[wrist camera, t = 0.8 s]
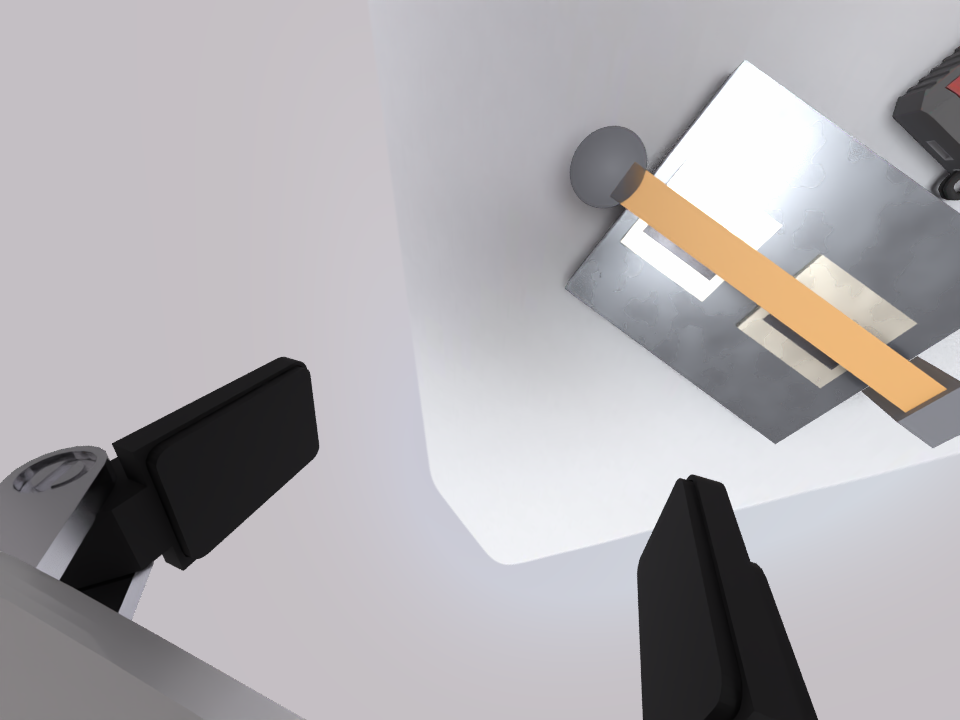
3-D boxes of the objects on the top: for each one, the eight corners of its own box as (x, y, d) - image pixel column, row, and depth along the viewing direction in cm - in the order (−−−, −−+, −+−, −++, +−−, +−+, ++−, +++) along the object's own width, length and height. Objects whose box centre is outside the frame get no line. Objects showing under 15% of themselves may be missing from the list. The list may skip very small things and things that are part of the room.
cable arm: (563, 181, 24) (555, 181, 21) (604, 118, 22) (602, 108, 19) (885, 417, 24) (924, 452, 21) (958, 376, 22) (1013, 407, 19)
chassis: (731, 73, 23) (747, 57, 20) (997, 264, 23) (1054, 276, 20) (569, 279, 31) (563, 290, 28) (762, 422, 31) (777, 448, 28)
